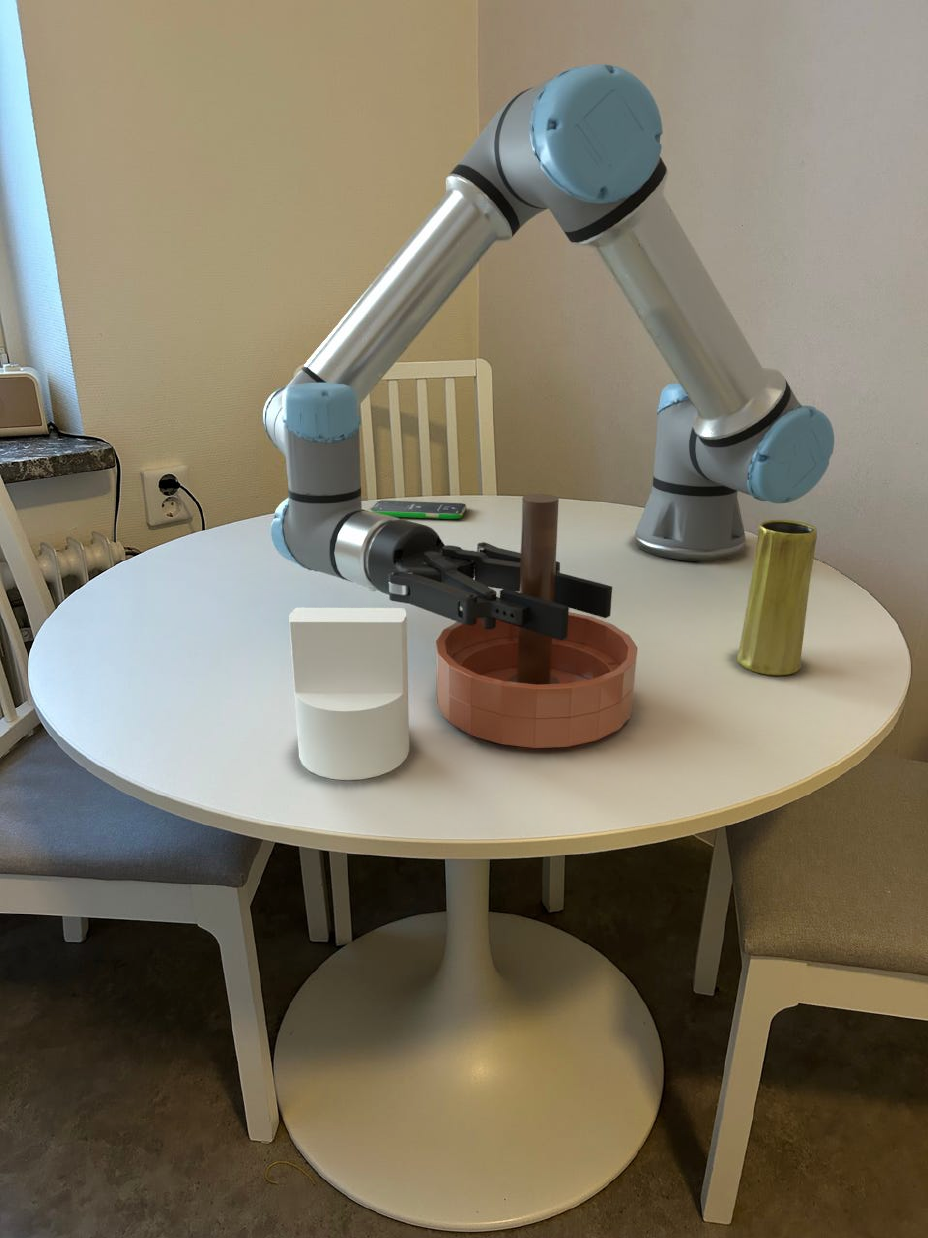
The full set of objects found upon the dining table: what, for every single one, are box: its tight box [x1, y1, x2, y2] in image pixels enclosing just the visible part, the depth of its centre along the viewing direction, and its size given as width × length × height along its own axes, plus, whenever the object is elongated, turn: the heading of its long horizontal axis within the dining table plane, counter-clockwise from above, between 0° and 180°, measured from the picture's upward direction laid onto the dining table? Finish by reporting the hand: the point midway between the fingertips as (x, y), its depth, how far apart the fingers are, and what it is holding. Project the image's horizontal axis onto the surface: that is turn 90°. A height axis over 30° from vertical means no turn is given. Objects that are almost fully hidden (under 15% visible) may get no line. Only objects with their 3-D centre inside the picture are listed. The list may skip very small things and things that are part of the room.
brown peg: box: [507, 493, 560, 685], centre depth 76 cm, size 5×5×19 cm
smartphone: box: [369, 499, 467, 520], centre depth 142 cm, size 8×1×15 cm
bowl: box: [435, 611, 638, 749], centre depth 78 cm, size 18×18×6 cm
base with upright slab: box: [288, 607, 410, 781], centre depth 70 cm, size 9×9×12 cm
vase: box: [736, 519, 818, 677], centre depth 85 cm, size 6×6×14 cm
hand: (587, 612), depth 73 cm, fingers open, 6 cm apart
